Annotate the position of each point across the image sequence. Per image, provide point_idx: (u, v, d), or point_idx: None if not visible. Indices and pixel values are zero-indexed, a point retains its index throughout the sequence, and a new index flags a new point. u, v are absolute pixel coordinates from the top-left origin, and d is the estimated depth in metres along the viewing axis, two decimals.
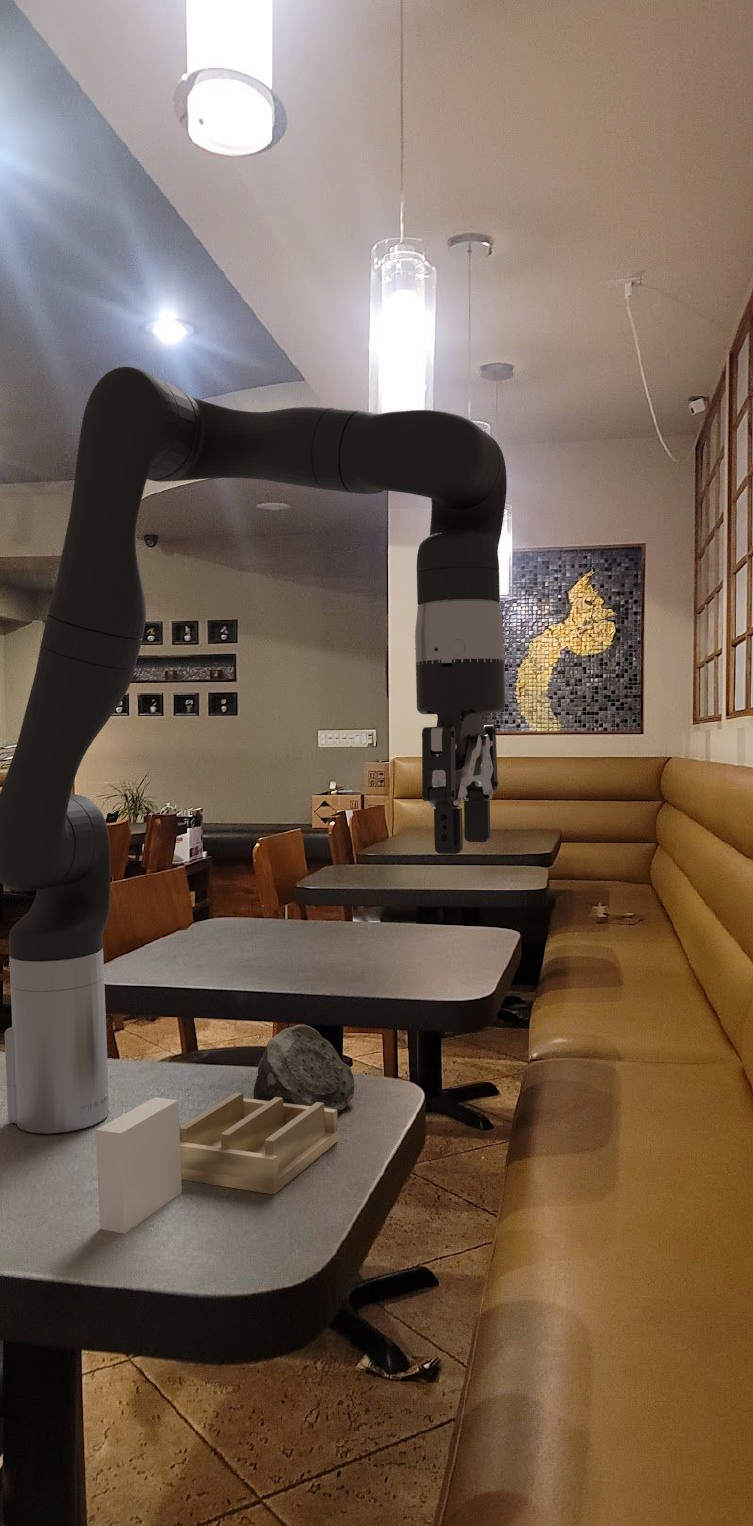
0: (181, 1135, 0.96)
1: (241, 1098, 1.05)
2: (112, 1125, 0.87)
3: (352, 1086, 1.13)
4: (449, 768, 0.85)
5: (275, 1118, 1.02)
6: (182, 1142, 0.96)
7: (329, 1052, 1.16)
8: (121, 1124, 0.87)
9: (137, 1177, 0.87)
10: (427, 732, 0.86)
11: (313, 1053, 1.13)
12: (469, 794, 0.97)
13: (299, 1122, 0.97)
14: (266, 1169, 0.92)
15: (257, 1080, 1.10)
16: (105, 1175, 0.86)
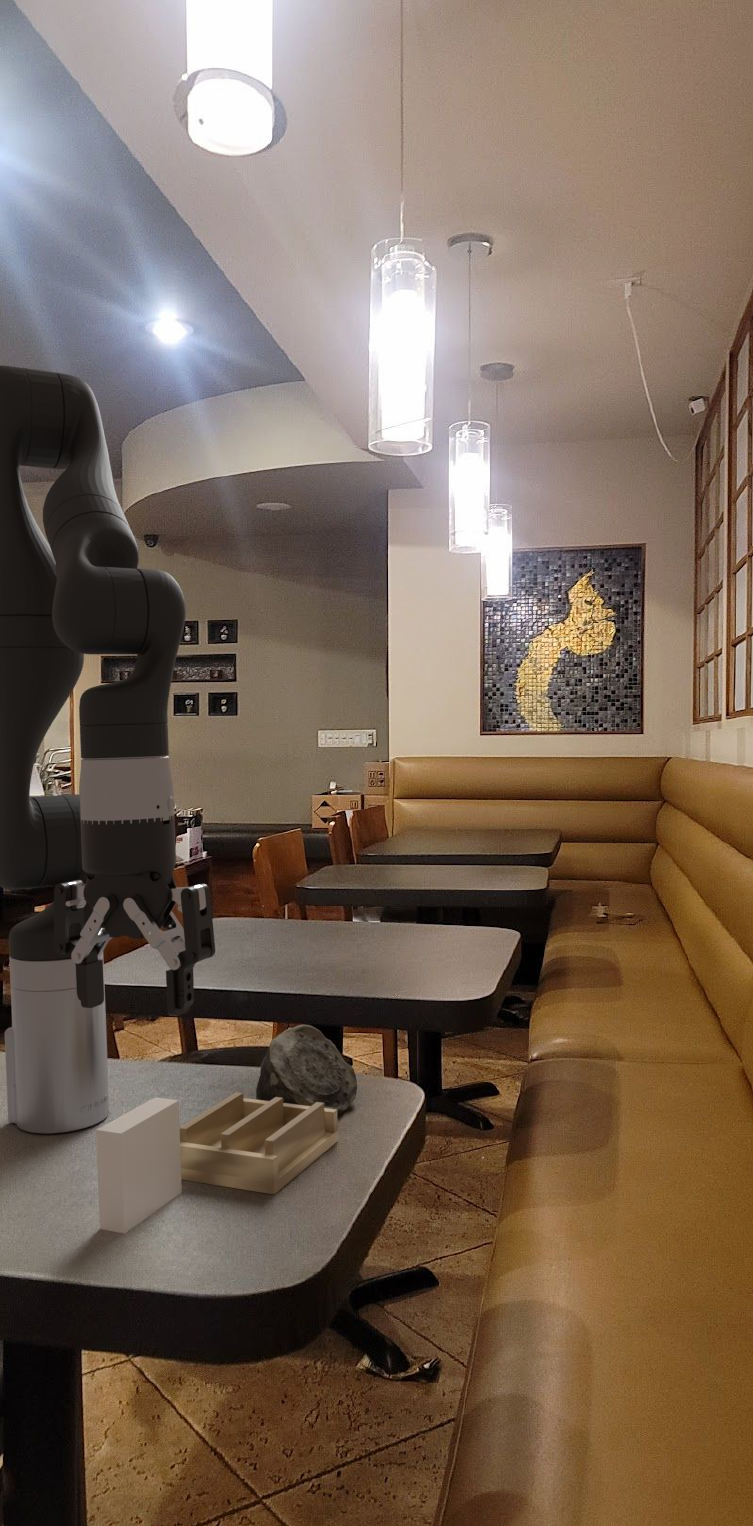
0: (181, 1135, 0.96)
1: (241, 1098, 1.05)
2: (112, 1125, 0.87)
3: (355, 1086, 1.13)
4: (212, 924, 0.87)
5: (275, 1118, 1.02)
6: (182, 1142, 0.96)
7: (332, 1052, 1.15)
8: (121, 1124, 0.87)
9: (137, 1177, 0.87)
10: (196, 892, 0.85)
11: (316, 1053, 1.13)
12: (87, 957, 0.90)
13: (299, 1122, 0.97)
14: (266, 1169, 0.92)
15: (260, 1080, 1.10)
16: (105, 1176, 0.86)
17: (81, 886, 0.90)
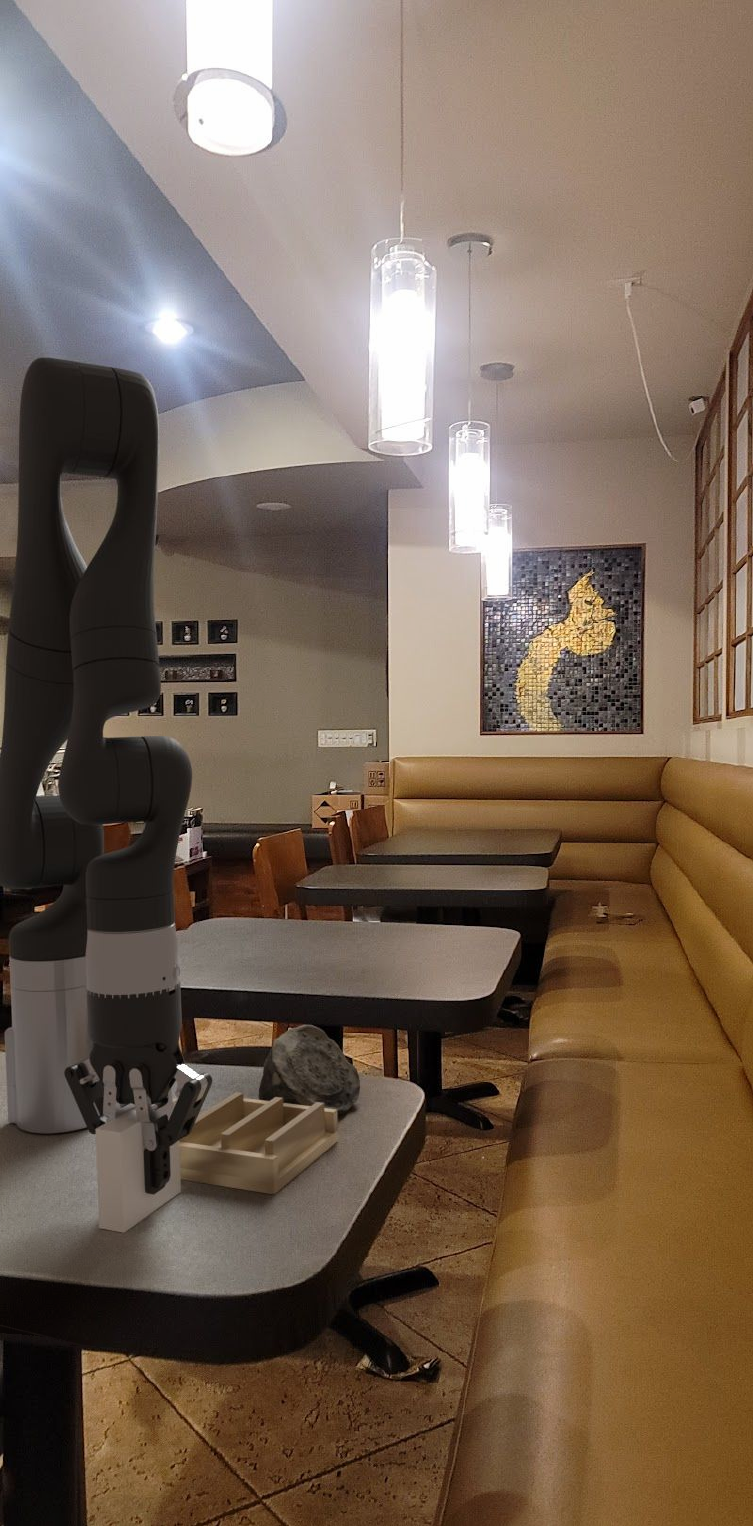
0: None
1: (241, 1098, 1.05)
2: (111, 1124, 0.87)
3: (358, 1086, 1.13)
4: (198, 1112, 0.88)
5: (275, 1118, 1.02)
6: (182, 1142, 0.96)
7: (335, 1052, 1.15)
8: (120, 1123, 0.87)
9: (136, 1176, 0.87)
10: (198, 1089, 0.86)
11: (319, 1054, 1.13)
12: None
13: (299, 1122, 0.97)
14: (266, 1169, 0.92)
15: (262, 1080, 1.10)
16: (104, 1175, 0.86)
17: (87, 1059, 0.90)
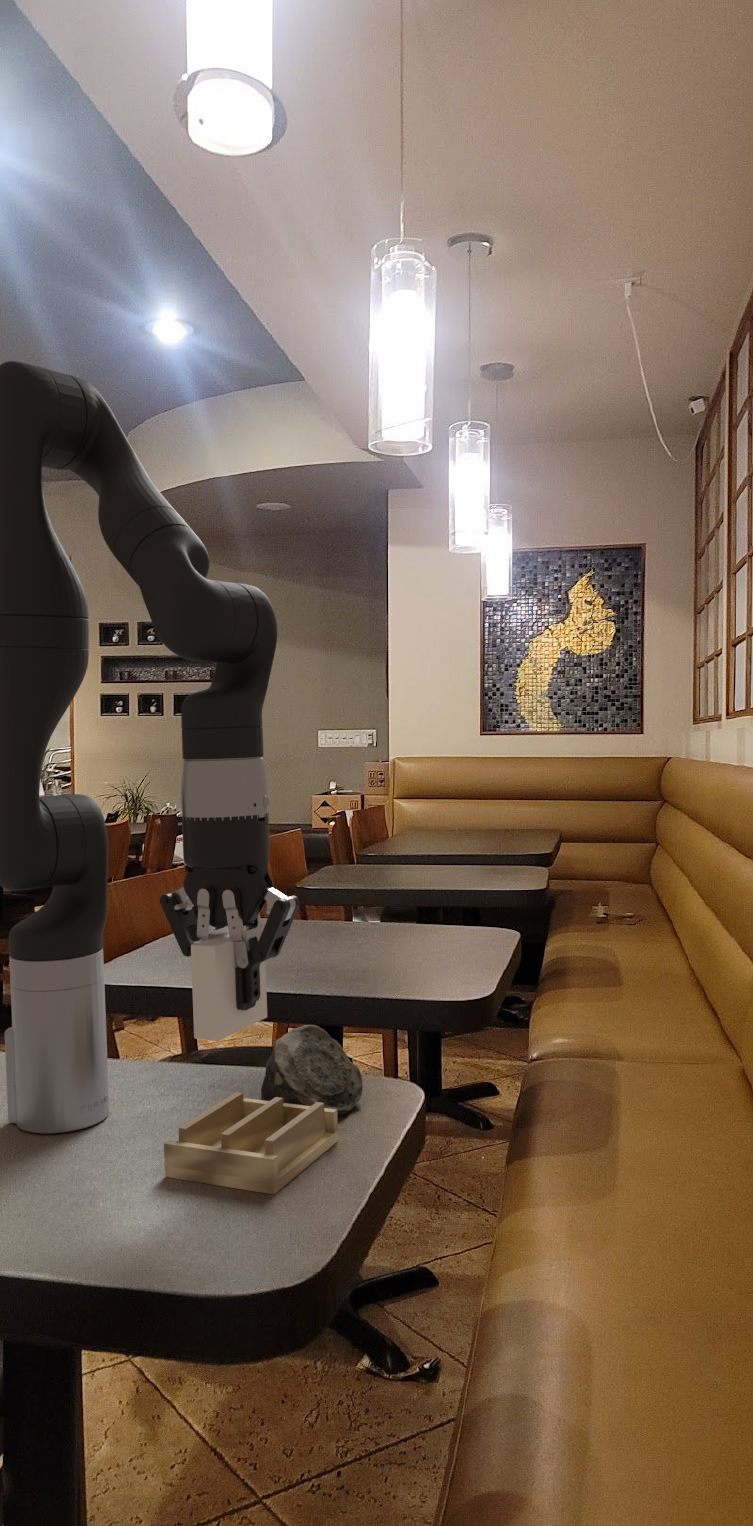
0: (181, 1135, 0.96)
1: (241, 1098, 1.05)
2: (205, 942, 0.92)
3: (360, 1087, 1.13)
4: (287, 933, 0.94)
5: (275, 1118, 1.02)
6: (182, 1142, 0.96)
7: (338, 1052, 1.15)
8: (213, 941, 0.93)
9: (228, 991, 0.92)
10: (288, 907, 0.91)
11: (321, 1054, 1.13)
12: None
13: (299, 1122, 0.97)
14: (266, 1169, 0.92)
15: (264, 1080, 1.10)
16: (199, 987, 0.91)
17: (181, 888, 0.96)
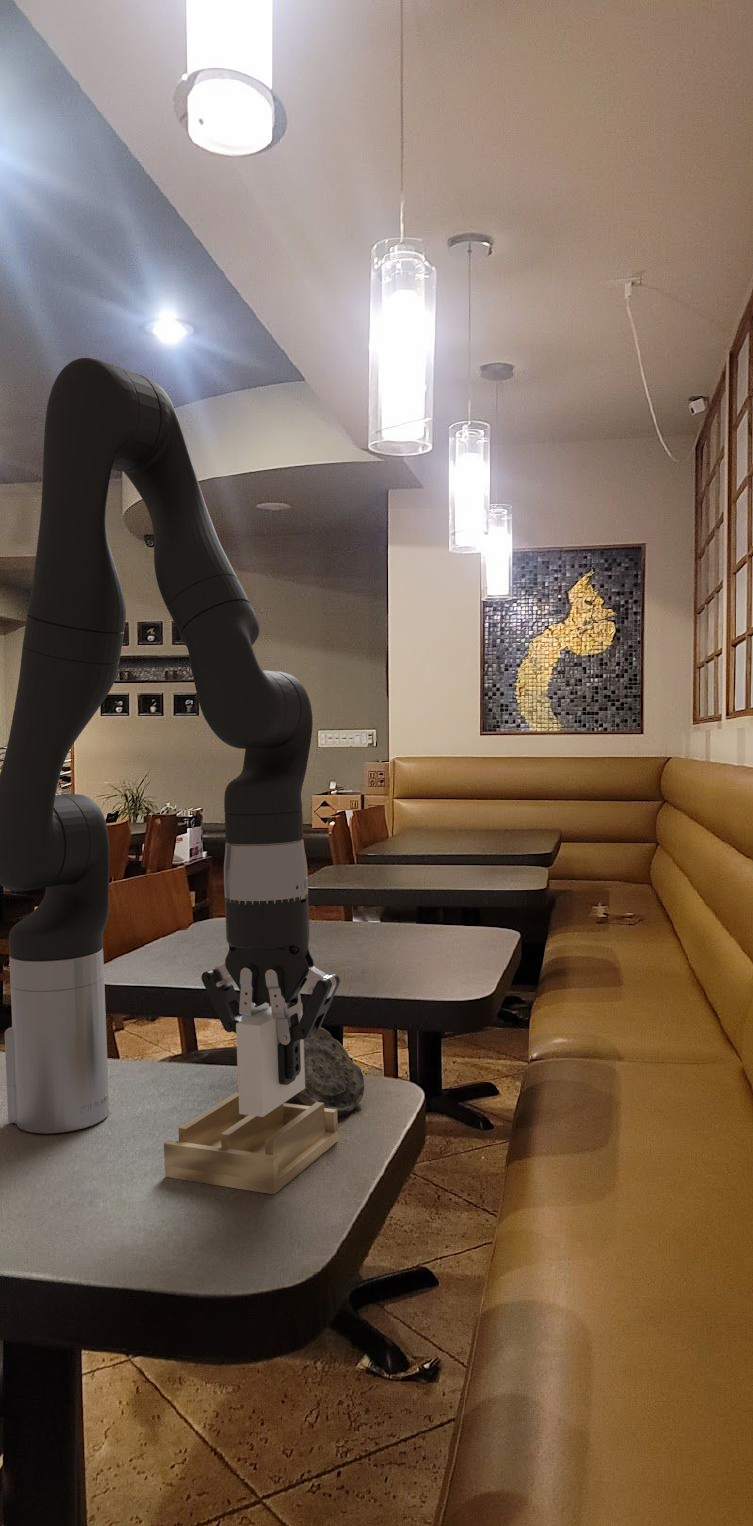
0: (181, 1135, 0.96)
1: None
2: (249, 1020, 0.96)
3: (362, 1087, 1.13)
4: (327, 1010, 0.97)
5: (275, 1118, 1.02)
6: (182, 1142, 0.96)
7: (339, 1052, 1.15)
8: (257, 1019, 0.96)
9: (272, 1067, 0.96)
10: (329, 987, 0.95)
11: (323, 1054, 1.13)
12: None
13: (299, 1122, 0.97)
14: (266, 1169, 0.92)
15: None
16: (244, 1065, 0.95)
17: (222, 965, 0.99)
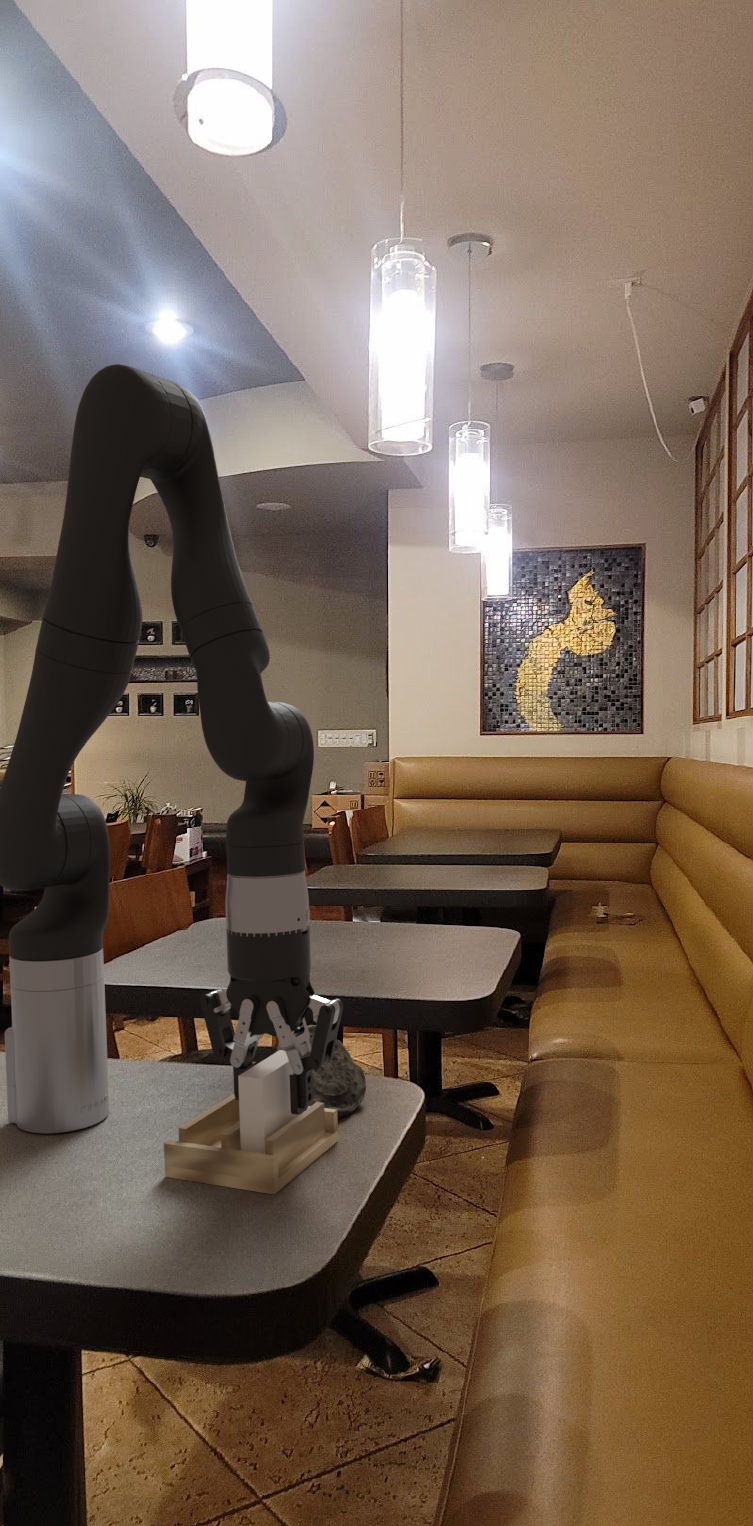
0: (181, 1135, 0.96)
1: None
2: (251, 1072, 0.96)
3: (363, 1087, 1.13)
4: (336, 1036, 0.97)
5: None
6: (182, 1142, 0.96)
7: (341, 1053, 1.15)
8: (259, 1071, 0.96)
9: (274, 1119, 0.96)
10: (333, 1011, 0.95)
11: None
12: (244, 1061, 0.99)
13: (299, 1122, 0.97)
14: (266, 1169, 0.92)
15: None
16: (246, 1117, 0.95)
17: (223, 992, 0.99)
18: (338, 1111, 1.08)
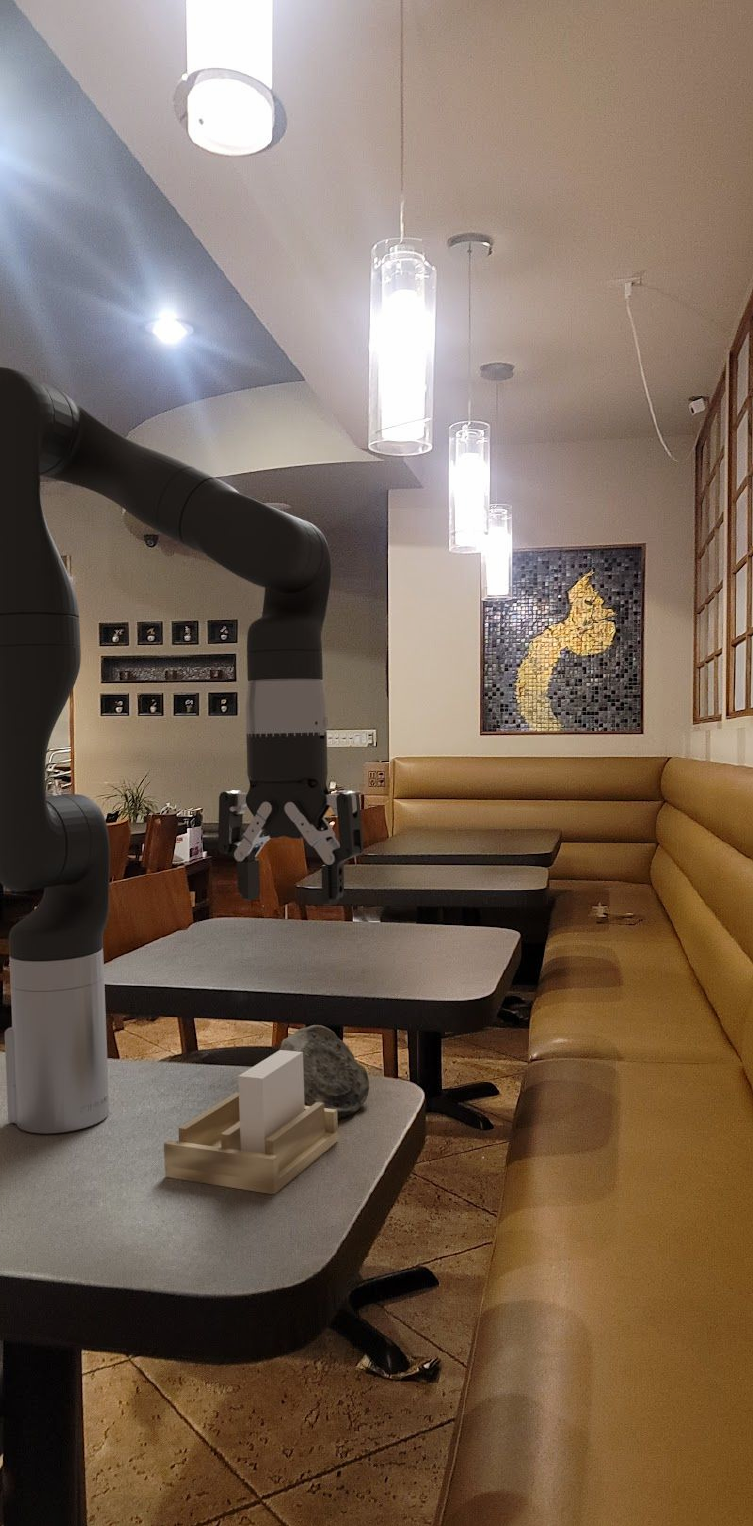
0: (181, 1135, 0.96)
1: None
2: (251, 1072, 0.96)
3: (366, 1088, 1.13)
4: (361, 827, 1.00)
5: None
6: (182, 1142, 0.96)
7: (344, 1053, 1.15)
8: (259, 1071, 0.96)
9: (274, 1119, 0.96)
10: (349, 797, 0.98)
11: (328, 1054, 1.13)
12: (248, 856, 1.03)
13: (299, 1122, 0.97)
14: (266, 1169, 0.92)
15: None
16: (246, 1117, 0.95)
17: (243, 794, 1.03)
18: (341, 1111, 1.08)
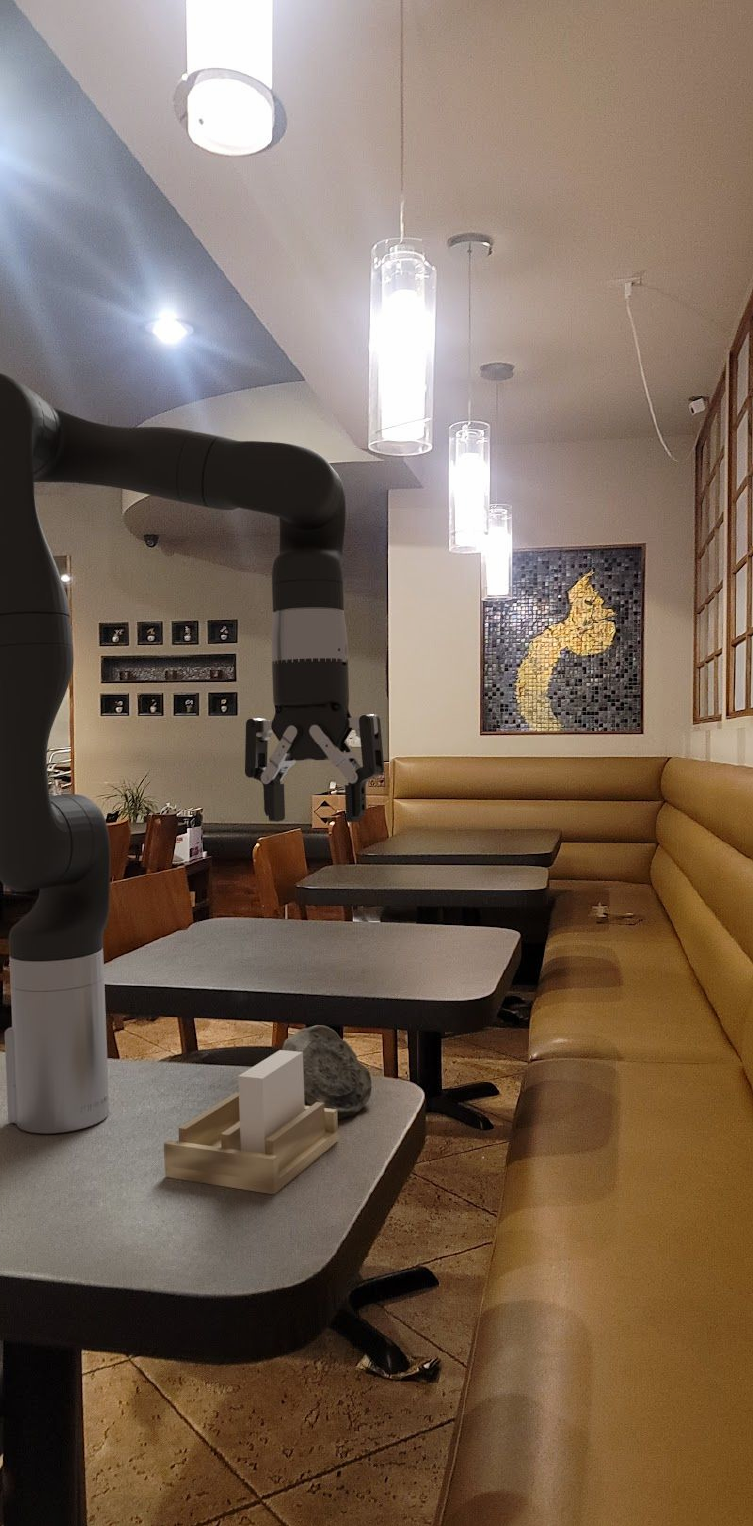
0: (181, 1135, 0.96)
1: None
2: (251, 1072, 0.96)
3: (369, 1088, 1.12)
4: (382, 748, 1.05)
5: None
6: (182, 1142, 0.96)
7: (347, 1053, 1.15)
8: (259, 1071, 0.96)
9: (274, 1119, 0.96)
10: (371, 719, 1.04)
11: (330, 1054, 1.13)
12: (274, 779, 1.08)
13: (299, 1122, 0.97)
14: (266, 1169, 0.92)
15: None
16: (246, 1117, 0.95)
17: (268, 721, 1.08)
18: (343, 1111, 1.08)
